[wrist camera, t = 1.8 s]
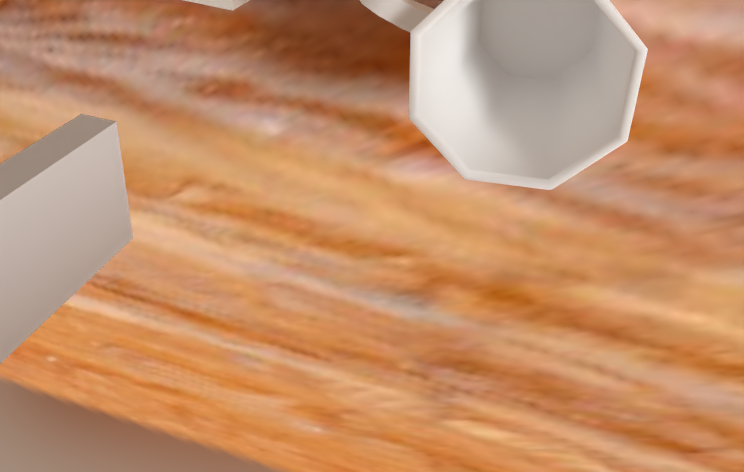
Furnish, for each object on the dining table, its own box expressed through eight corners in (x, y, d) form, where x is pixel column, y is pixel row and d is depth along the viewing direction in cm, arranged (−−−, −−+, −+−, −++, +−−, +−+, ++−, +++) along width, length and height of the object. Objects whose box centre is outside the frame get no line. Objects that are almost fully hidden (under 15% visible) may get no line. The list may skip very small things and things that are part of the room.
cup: (572, 128, 28) (562, 230, 21) (358, 20, 28) (284, 88, 21) (679, -34, 23) (708, 32, 17) (427, -161, 24) (360, -143, 17)
